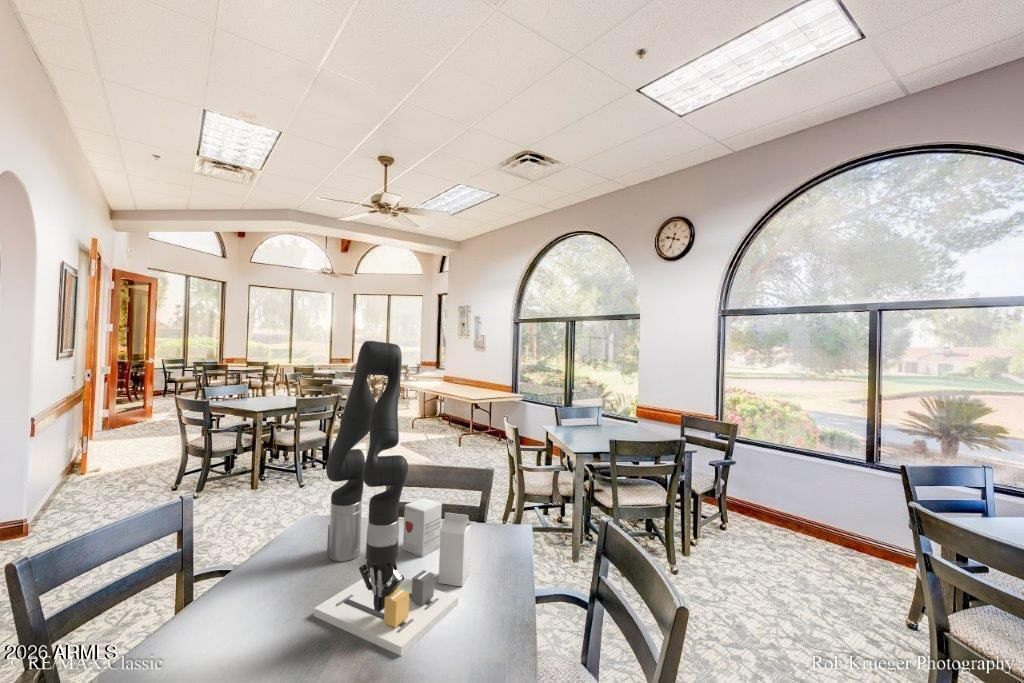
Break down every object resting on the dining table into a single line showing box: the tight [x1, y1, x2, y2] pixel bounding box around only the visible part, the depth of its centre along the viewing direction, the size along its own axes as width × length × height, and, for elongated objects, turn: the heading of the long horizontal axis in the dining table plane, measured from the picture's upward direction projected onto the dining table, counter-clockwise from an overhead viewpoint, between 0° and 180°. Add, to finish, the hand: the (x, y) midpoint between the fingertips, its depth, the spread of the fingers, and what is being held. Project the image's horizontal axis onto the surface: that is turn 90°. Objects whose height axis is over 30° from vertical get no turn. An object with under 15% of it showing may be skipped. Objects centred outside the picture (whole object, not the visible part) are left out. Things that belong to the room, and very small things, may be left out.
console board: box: [313, 577, 459, 657], centre depth 114 cm, size 28×22×2 cm
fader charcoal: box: [411, 569, 435, 605], centre depth 115 cm, size 4×4×6 cm
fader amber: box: [384, 588, 409, 628], centre depth 106 cm, size 4×4×6 cm
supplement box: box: [402, 497, 443, 558], centre depth 148 cm, size 9×9×15 cm
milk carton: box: [438, 512, 472, 587], centre depth 130 cm, size 7×7×19 cm
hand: (379, 609), depth 108 cm, fingers closed
